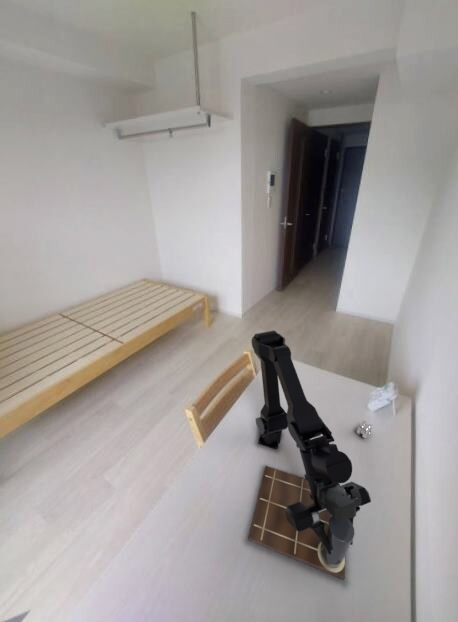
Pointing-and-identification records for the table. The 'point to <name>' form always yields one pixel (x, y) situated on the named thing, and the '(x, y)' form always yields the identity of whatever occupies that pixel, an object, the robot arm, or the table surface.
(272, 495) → the board
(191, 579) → the table surface
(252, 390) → the table surface
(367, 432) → the metal grooved wheel
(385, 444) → the table surface
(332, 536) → the dark grey cylinder
